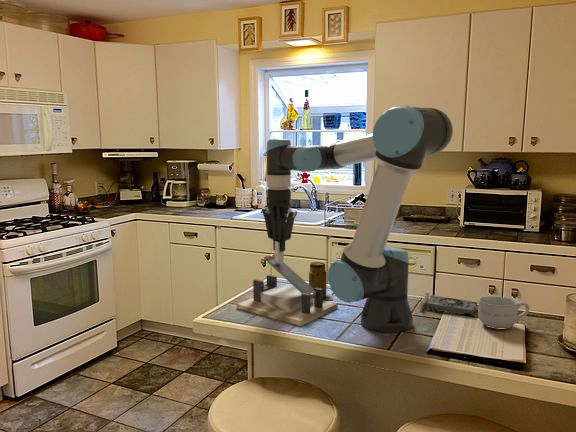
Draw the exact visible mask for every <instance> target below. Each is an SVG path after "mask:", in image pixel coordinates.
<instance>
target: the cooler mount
mask: <svg viewBox="0 0 576 432" xmlns="http://www.w3.org/2000/svg"><path fill="white" fill-rule="evenodd" d="M252 282H253V283H252V285H253V288H252V289H253V293H252V294H253V297H252V298H249V299H245V300H244V301H241V302H238V303H236V310H237V309H238V310H241V311H245V312H248V313H252V314H256V315H260V316H263V317H267V318H271V319H274V320H278V321H280V322H285V323H289V324H292V325H294V326H295V325H296V326H299V327H302V326H304V325H306V324H309V323H310V322H312V321H314V320H316V319H318V318H320V317H323V316H324V315H326V314H328V313H330V312H332V311H334V310H337V309H338V308H339V304H338V302H337V303H336V302H333V301H329V300H323V289H320V288H315V289H314V290H315V291H317V292H318V293H319V295H318V296H316V297H314V298H311V299H310V294H307V293H301V292H300V291H299V290H297V289H296V288H295V287H294V286H293V285H288V284H285V283H283V284H282V285H279V286H278V277H277V275H273V274H267V275H266V284H264V282H265V281H264V280H261V279H257V278H255V279H252Z"/></svg>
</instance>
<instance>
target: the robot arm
mask: <svg viewBox="0 0 576 432" xmlns="http://www.w3.org/2000/svg"><path fill="white" fill-rule="evenodd" d="M452 123H453V122H452V121H451V119H450V117H449V116H448V115H447V114H446V113H445V112H443V111H442V110H440V109H438V108H435V107H434V108H433V107H420V106H419V107H417V106H409V105H402V106H394V107H391V108H389V109H387V110H384V112H382V113H381V114H380V116H378V118H377V119H376V121H375V123H374V125H373V128H372V133H370V134H367V135H362V136H358V137H354V138H350V139H347V140H343V141H340V142H339V141H338V142H336V143H331V144H324V145H317V144H316V145H292V143H291V140H290V139H289V138H269V139H268V140H267V142H266V187H267V190H266V196H267V198H266V199H267V201H268V203H267V204H266V205H267V206H266V207H265V208H261V213H262V215H263V218H264V223H265V227H266V229H265V230H266V232H267V237H268V239H271V240H272V245H273V247H272V249H273V251H274V254H275V261H276V262H280V261H283V262H284V261H285V260H284V259H285V258H284V257H285V251H286V242H287V241H289V240H291V238H292V232H293V228H294V222H295V218H296V216H298V215H297V214H298V211H297V210H294V209H292V206H291V202H290V201H291V200H292V199H291V197H292V195H291V194H292V190H291V188H290V187H291V185H292V184H291V183H292V181H291V178H292V177H291V174H292V172H291V171H295V172H296V171H298V172H303V173H305V172H307V173H309V172H315V171H321V170H338V169H343V168H345V167H347V166H351V165H356V164H361V163H367V162H370V161H376V160H377V166H376V169H375V172H374V175H373V178H372V181H371V184H370V187H369V190H368V194H367V197H366V200H365V202H364V205H363V208H362V211H361V215H360V217H359V220H358V224H357V226H356V230H355V232H354V235H353V237H352V241H351V243H349V244H346V245H345V246H344V248H343V252H342V254H341V257H340V259H339V260H335V261H333V262H332V263H331V264H330V265H329V268H328V270H327V282H328V284H329V287H330V290H331V291H332V294H334V295H335V297H336V298H337V299H339V300H340V301H342V302H344V303H355V302H357V303H358V302H361V301H362V300H365V302H364V305H363V308H362V311H361V313H360V324H361V325H362V326H363V327H365V328H366V329H369V330H371V331H374V332H375V331H376V332H381V333H401V332H405V331H408V330H410V329H412V327H413V325H414V324H413V323H414V319H413V314H412V311H411V308H410V304H409V301H408V291H409V289H408V288H409V265H410V262H409V253H408V251H407V250H405V249H404V248H400V247H394V246H387V243H388V241H389V237H390V234H391V232H392V228H393V226H394V223H395V220H396V218H397V215H398V213H399V210H400V207H401V205H402V201H403V198H404V196H405V192H406V191H407V187H408V184H409V182H410V180H411V177H412V174H413V173H415V172H418V171H420V170H421V167H422V165H423V163H424V160H425V157H426V156H429V155H434V154H439V153H440V152H442V151H444V150H445V149H446V148H447V146H448V145H449V144H450V142H452V141H451V140H452V138H453V133H454V128H453V127H454V126H453V124H452Z"/></svg>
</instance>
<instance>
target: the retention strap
mask: <svg viewBox="0 0 576 432" xmlns="http://www.w3.org/2000/svg"><path fill="white" fill-rule="evenodd" d="M263 260H265V261H266V262H267V263H268V264H269V265H271V267H272V268H273V269H275V270H276V271H277V272H278V273H279V274H280V275H281V276H282V277H283V278H284V279H285V280H286V281H288V282H289V283H290V285H291V286H294V287H295V288H296V289H297V290H299V291H300V292H301V293H307V294H310V299H311V298H313V297H316V296H318V295H319V293H318V292H317V291H315V290H314V289H313V288H312V287H311V286H310V285H309V283H308V282H307V281H305V280H304V279H303V278H302V277H301V276H300V275H299V274H297V272H295V271H294V270H293V269H292V268H291V267H290V266H289V265H288V264H286V263H285V262H284V260H283V261H280V262H276V261H275V253H272V254H269V255H266V256H264V257H263Z"/></svg>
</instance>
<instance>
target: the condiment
mask: <svg viewBox="0 0 576 432" xmlns="http://www.w3.org/2000/svg"><path fill="white" fill-rule="evenodd" d="M308 284H309V285H310V286H311V287H312V288H313V289H315V288H320V289H323V300H324V301H329V300H331V301H332V300H333V293H327V271H326V264H325V262H321V261H313V262H310V263H309V271H308ZM313 298H314V297H313Z"/></svg>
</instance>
